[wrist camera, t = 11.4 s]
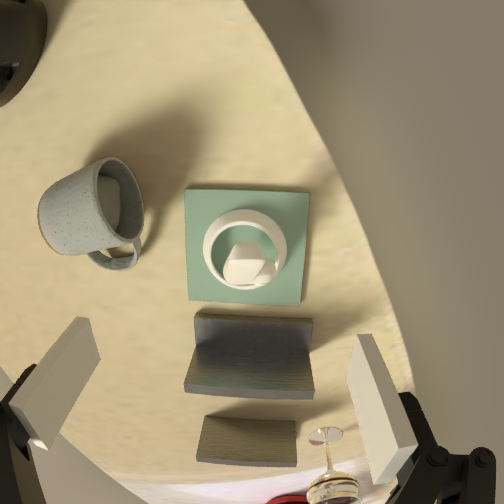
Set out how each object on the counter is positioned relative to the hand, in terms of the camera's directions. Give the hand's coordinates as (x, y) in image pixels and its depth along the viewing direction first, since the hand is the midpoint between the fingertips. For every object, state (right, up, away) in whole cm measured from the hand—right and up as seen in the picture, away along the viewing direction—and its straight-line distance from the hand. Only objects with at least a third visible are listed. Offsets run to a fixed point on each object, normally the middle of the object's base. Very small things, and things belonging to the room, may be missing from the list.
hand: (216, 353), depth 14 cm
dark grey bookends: (+1, -12, +21) cm, 25 cm away
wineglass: (+12, -22, +25) cm, 35 cm away
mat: (+1, +5, +15) cm, 16 cm away
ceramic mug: (-12, +9, +15) cm, 21 cm away
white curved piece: (+1, +5, +15) cm, 16 cm away
